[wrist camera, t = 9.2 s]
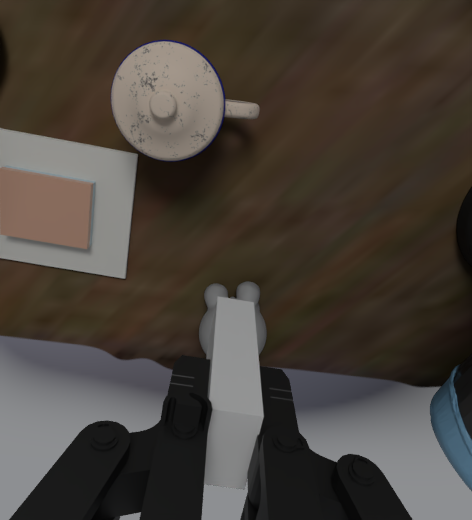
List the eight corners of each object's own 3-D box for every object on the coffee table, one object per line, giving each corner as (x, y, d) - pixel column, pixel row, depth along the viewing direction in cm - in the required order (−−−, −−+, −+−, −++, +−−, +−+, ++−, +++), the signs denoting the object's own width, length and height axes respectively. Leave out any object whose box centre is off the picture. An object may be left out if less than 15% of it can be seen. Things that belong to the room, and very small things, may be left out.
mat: (138, 153, 44) (137, 154, 44) (126, 276, 49) (125, 278, 49) (-44, 119, 43) (-47, 120, 42) (-37, 250, 48) (-39, 251, 47)
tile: (90, 184, 43) (-1, 168, 42) (87, 249, 46) (0, 234, 45) (95, 181, 45) (6, 165, 44) (91, 244, 47) (7, 229, 47)
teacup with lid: (133, 143, 44) (100, 162, 33) (134, 43, 40) (98, 28, 29) (251, 155, 44) (256, 178, 33) (262, 58, 41) (271, 48, 30)
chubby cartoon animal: (206, 340, 56) (201, 401, 49) (200, 275, 47) (193, 340, 41) (262, 340, 55) (264, 402, 49) (266, 276, 47) (269, 340, 41)
